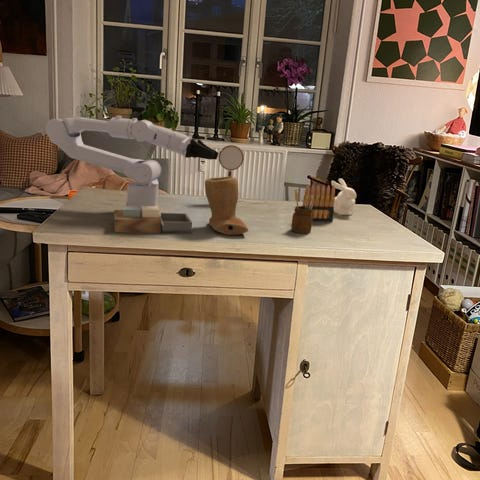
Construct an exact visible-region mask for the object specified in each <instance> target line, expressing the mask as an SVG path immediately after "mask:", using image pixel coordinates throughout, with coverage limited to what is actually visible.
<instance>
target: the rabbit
mask: <svg viewBox="0 0 480 480" xmlns="http://www.w3.org/2000/svg"><path fill="white" fill-rule="evenodd" d="M338 182H339V183H338ZM338 182H336V181H334V180H331V182H330V183H331V186H332V187H333V185H334V186H335V189H337V190H340V192H338V194H337V196H334V197H335V200H334V213H335V214H338V215H341V216H345V215H346V216H352V215H353V213H354V211H353V209H354V208H355V204H356V199H357V193H356V191H355V189H353V188H352V187H348V185H347V184H346V182H345V180H344V179H343V178H338Z"/></svg>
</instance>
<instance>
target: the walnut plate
mask: <svg viewBox="0 0 480 480" xmlns="http://www.w3.org/2000/svg"><path fill="white" fill-rule="evenodd" d="M113 212H114V213H113V217H114V218H113V224H114V225H113V227H114V233H138V234H139V233H140V234H141V233H142V234H143V233H145V234H146V233H149V234H150V233H152V234H161V233H162V232H161V218H160V216H161V214H160V215H159V218H158V217H142V215H141V211H140V217H123V209H114V211H113Z"/></svg>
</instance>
